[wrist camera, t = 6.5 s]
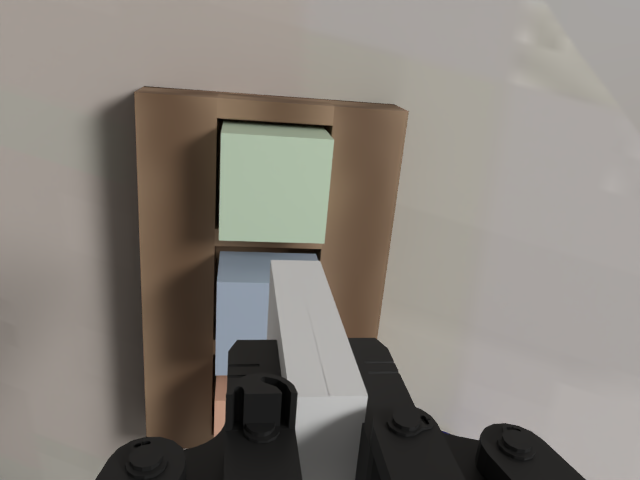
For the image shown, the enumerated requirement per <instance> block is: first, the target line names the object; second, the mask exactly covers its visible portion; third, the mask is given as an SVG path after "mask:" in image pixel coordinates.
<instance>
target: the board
mask: <svg viewBox="0 0 640 480" xmlns="http://www.w3.org/2000/svg"><path fill="white" fill-rule="evenodd" d="M134 100H135V128H136V156H137V184H138V213H139V241H140V269H141V297H142V326H143V354H144V382H145V410H146V437H163V438H166V439H170V440H173V441H175V442H176V443H177V444H178V445H180V446H181V447H182V448H193V447H196V446H199V445H201V444H204V443H206V442H208V441H209V440H211V439H213V438H214V408H215V389H216V376H217V375H215V356H216V303H217V276H218V266H219V256H220V251H234V252H270V253H306V254H316V256H317V259H318V261H320V262H321V265H322V268H323V270H324V273H325V276H326V279H327V282H328V284H329V287H330V290H331V293H332V296H333V299H334V301H335V304H336V307H337V310H338V313H339V315H340V318H341V321H342V324H343V327H344V329H345V332H346V335H347V338H376V339H377V335H378V327H379V320H380V313H381V306H382V299H383V292H384V284H385V277H386V270H387V263H388V256H389V249H390V241H391V234H392V227H393V220H394V213H395V206H396V198H397V191H398V184H399V177H400V170H401V163H402V155H403V148H404V141H405V134H406V127H407V120H408V112H409V111H407V110H404V109H402V108H400V107H398V106H396V105H394V104H381V103H367V102H353V101H339V100H326V99H312V98H298V97H284V96H271V95H257V94H243V93H229V92H216V91H202V90H188V89H174V88H161V87H147V86H144V87H142V88H141V89H139V90H137V91H135V92H134ZM223 120H232V121H247V122H262V123H278V124H293V125H309V126H323V127H324V128H325V130H326V131H327V132H328V133H329V134H330V136H331V137H332V138H333V139H334V147H333V158H332V169H331V179H330V190H329V201H328V211H327V222H326V233H325V243H324V244H319V243H286V242H253V241H221V240H219V202H220V152H221V130H222V125H223Z"/></svg>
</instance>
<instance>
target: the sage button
mask: <svg viewBox="0 0 640 480" xmlns="http://www.w3.org/2000/svg"><path fill="white" fill-rule="evenodd" d="M333 147H334V139H333V138H332V137H331V136H330V134H329V133H328V132H327V131H326V130H325V128H324V127H323V126H309V125H293V124H278V123H262V122H247V121H232V120H223V125H222V130H221V152H220V202H219V240H221V241H253V242H286V243H319V244H324V243H325V233H326V222H327V211H328V201H329V190H330V179H331V169H332V158H333Z"/></svg>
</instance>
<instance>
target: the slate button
mask: <svg viewBox="0 0 640 480" xmlns="http://www.w3.org/2000/svg"><path fill="white" fill-rule="evenodd" d="M271 260H302V261H318V259H317V256H316V254H306V253H270V252H234V251H220V256H219V266H218V276H217V303H216V356H215V375H227V371H228V351H229V350H230V348H231V347H232V346H233V344H234V343H235V342H236V341H237V340H267V324H268V304H269V283H270V263H271Z"/></svg>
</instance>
